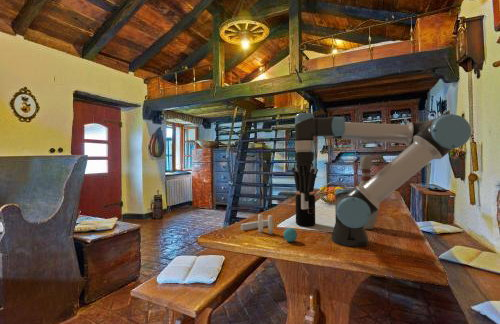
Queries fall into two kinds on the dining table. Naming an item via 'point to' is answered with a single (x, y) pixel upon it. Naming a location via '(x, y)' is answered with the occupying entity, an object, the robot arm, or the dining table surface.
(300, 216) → the coffee jar
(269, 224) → the front pin
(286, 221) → the dining table surface
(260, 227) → the back pin
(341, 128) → the robot arm
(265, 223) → the back wall
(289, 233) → the ball
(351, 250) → the dining table surface
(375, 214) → the bowling pin
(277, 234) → the dining table surface
